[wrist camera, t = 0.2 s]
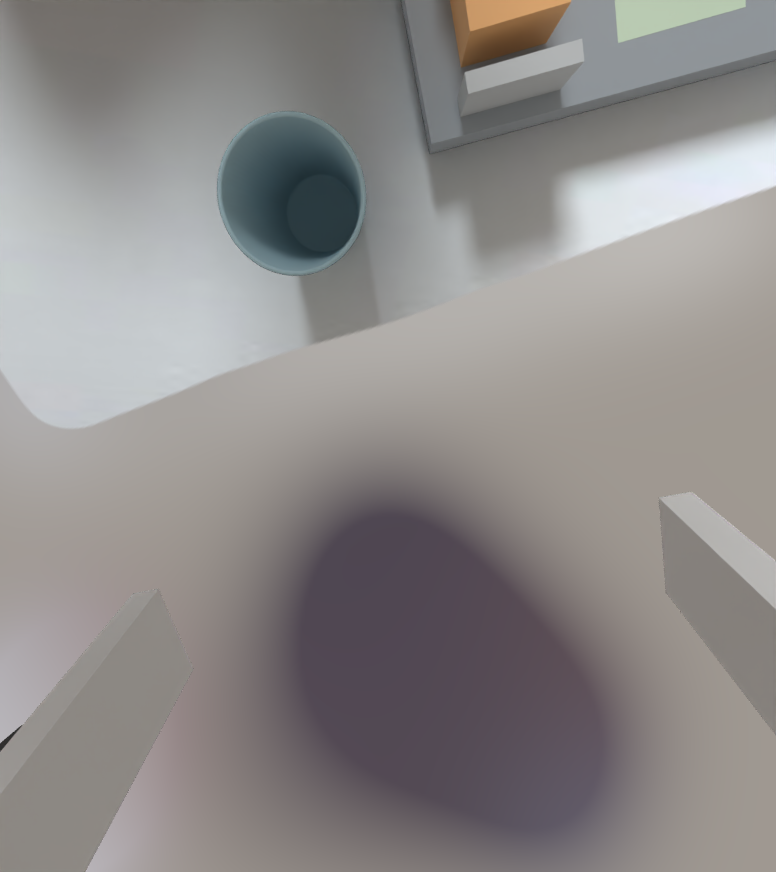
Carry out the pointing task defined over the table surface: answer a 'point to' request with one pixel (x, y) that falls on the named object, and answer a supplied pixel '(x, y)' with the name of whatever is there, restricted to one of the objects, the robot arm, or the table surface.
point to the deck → (579, 61)
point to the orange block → (502, 26)
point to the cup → (291, 193)
